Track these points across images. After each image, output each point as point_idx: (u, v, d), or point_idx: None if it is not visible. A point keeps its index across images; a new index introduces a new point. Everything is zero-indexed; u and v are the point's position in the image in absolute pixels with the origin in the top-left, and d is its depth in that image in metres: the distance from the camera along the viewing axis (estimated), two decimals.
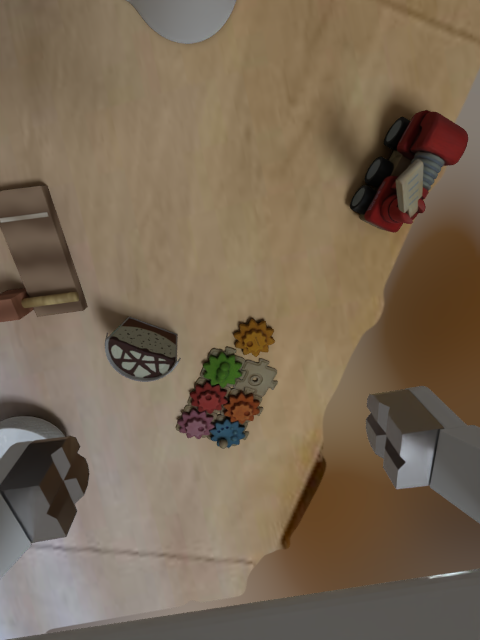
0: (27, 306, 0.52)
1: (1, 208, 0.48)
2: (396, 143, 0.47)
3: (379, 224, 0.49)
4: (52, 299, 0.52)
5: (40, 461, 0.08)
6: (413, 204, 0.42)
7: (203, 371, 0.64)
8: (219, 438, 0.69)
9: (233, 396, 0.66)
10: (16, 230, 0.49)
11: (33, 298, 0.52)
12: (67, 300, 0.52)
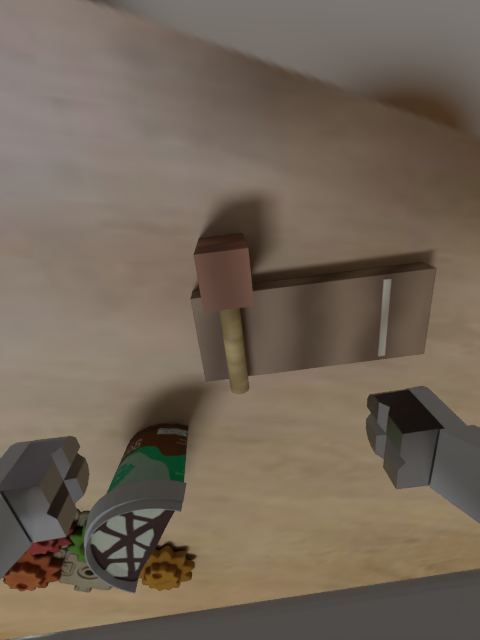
0: None
1: (405, 286, 0.26)
2: None
3: None
4: (239, 357, 0.26)
5: (40, 461, 0.08)
6: None
7: None
8: None
9: (51, 558, 0.39)
10: (365, 302, 0.27)
11: (239, 318, 0.25)
12: (235, 381, 0.27)
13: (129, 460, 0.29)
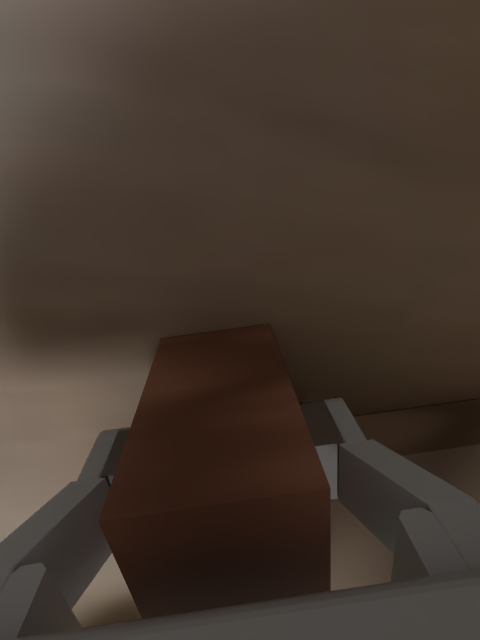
0: None
1: None
2: None
3: None
4: None
5: None
6: None
7: None
8: None
9: None
10: None
11: None
12: None
13: None
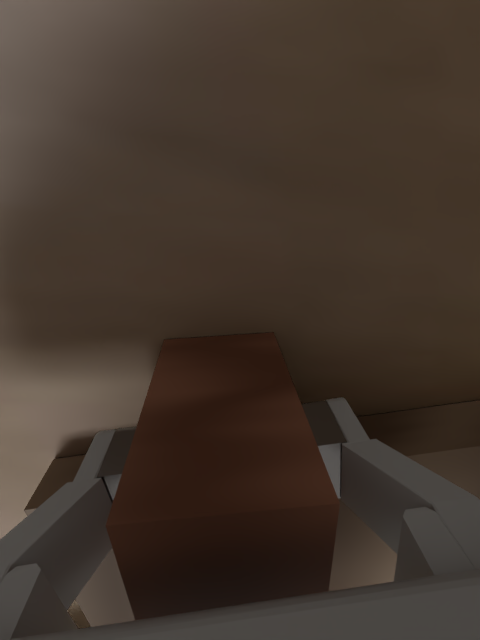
0: None
1: None
2: None
3: None
4: None
5: None
6: None
7: None
8: None
9: None
10: None
11: None
12: None
13: None
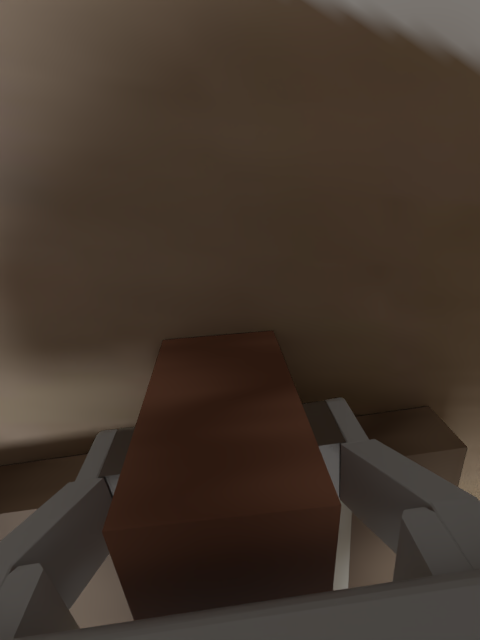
0: None
1: None
2: None
3: None
4: None
5: None
6: None
7: None
8: None
9: None
10: None
11: None
12: None
13: None
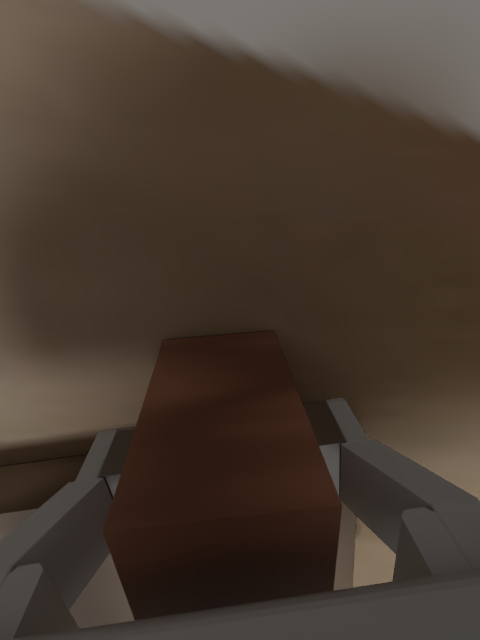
0: None
1: None
2: None
3: None
4: None
5: None
6: None
7: None
8: None
9: None
10: None
11: None
12: None
13: None
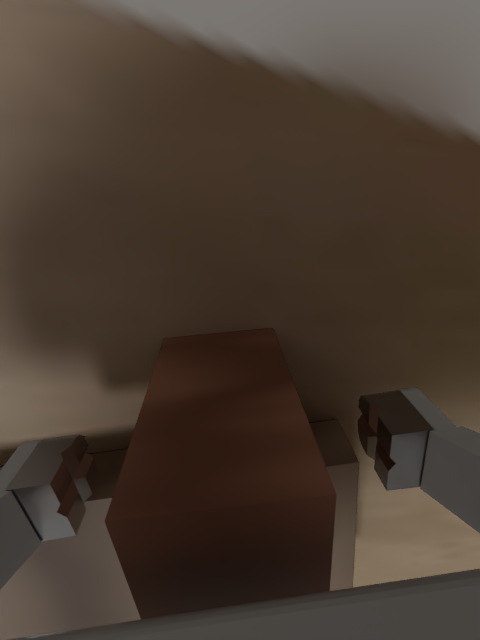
0: None
1: None
2: None
3: None
4: None
5: (50, 460, 0.08)
6: None
7: None
8: None
9: None
10: None
11: None
12: None
13: None
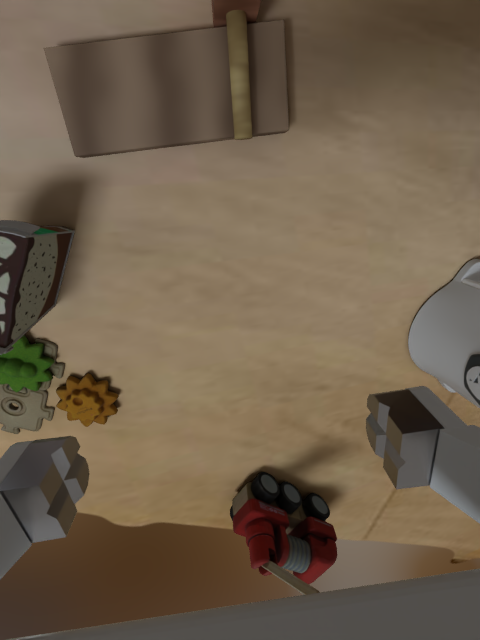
0: (232, 22, 0.25)
1: (257, 41, 0.27)
2: (311, 512, 0.50)
3: (245, 518, 0.45)
4: (244, 89, 0.27)
5: (40, 461, 0.08)
6: None
7: None
8: None
9: None
10: (220, 60, 0.27)
11: (246, 42, 0.26)
12: (240, 120, 0.28)
13: None
